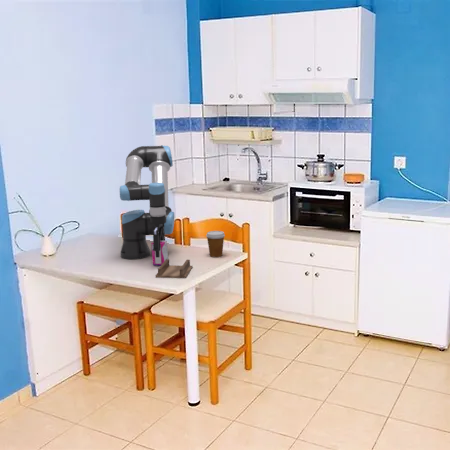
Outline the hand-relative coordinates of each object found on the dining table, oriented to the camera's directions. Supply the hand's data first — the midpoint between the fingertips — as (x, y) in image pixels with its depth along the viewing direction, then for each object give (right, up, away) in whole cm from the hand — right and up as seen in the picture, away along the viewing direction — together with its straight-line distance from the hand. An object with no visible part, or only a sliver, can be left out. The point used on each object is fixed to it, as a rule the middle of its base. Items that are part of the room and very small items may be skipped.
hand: (160, 261), depth 275 cm
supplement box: (0, -2, 0) cm, 2 cm away
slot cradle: (+8, -4, -14) cm, 16 cm away
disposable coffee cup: (+27, +2, +14) cm, 30 cm away
